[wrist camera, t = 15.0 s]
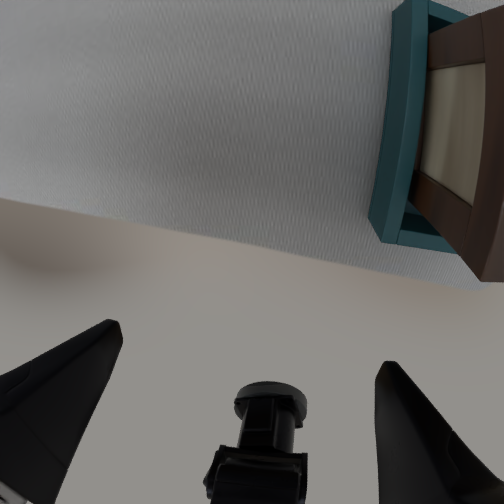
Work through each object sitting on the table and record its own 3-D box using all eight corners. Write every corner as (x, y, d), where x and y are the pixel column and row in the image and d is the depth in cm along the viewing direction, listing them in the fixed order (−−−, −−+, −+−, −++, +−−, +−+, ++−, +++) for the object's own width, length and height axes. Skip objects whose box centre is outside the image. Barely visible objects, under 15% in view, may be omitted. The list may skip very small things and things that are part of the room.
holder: (486, 46, 13) (517, 41, 9) (456, 233, 19) (480, 258, 16) (391, 11, 13) (411, -7, 10) (367, 217, 20) (380, 242, 17)
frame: (455, 56, 13) (569, 41, 4) (444, 198, 18) (537, 284, 8) (408, 44, 14) (507, 2, 4) (400, 192, 18) (479, 283, 9)
